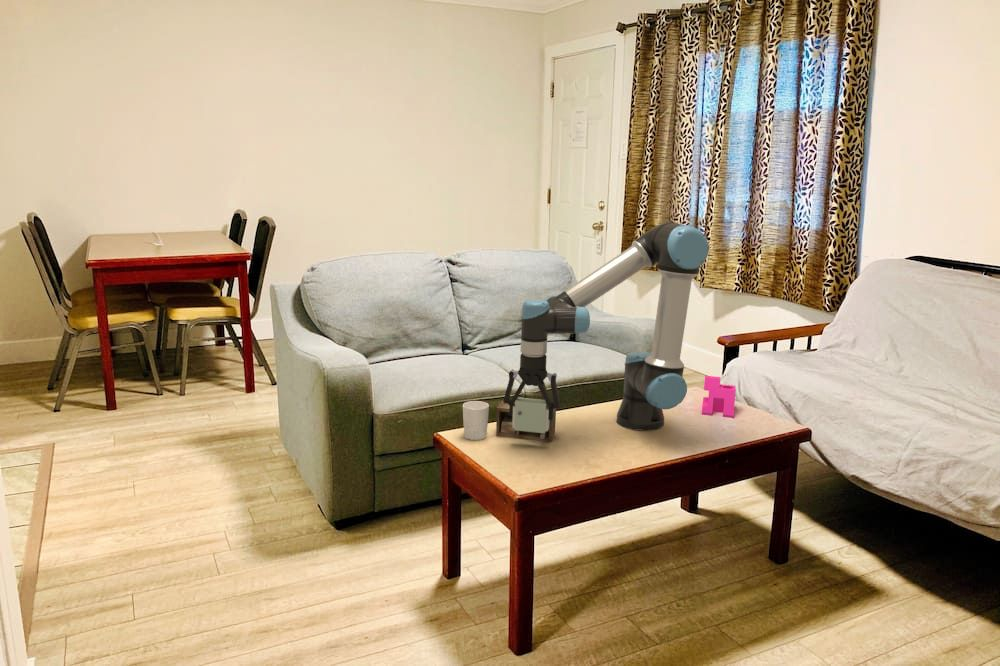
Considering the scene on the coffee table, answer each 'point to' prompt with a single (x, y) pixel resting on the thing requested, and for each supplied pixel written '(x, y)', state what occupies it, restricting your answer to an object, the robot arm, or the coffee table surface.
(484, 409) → the white cup
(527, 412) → the sage door
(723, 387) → the pink notched block
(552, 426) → the walnut cabinet
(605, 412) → the coffee table surface
